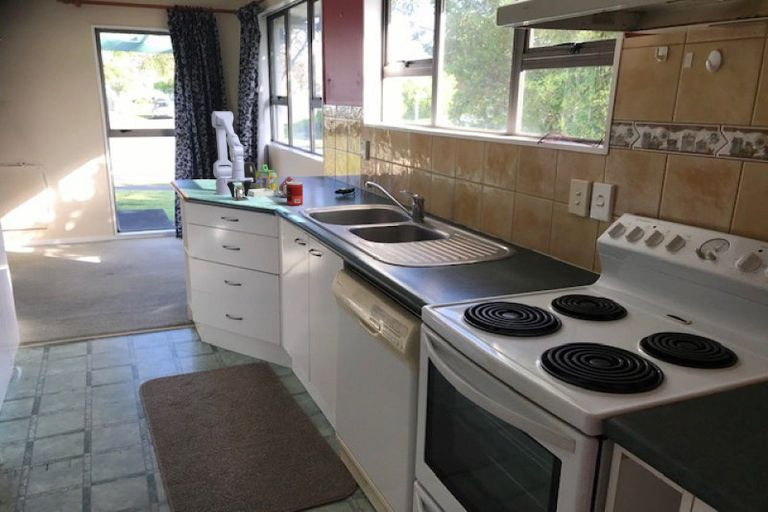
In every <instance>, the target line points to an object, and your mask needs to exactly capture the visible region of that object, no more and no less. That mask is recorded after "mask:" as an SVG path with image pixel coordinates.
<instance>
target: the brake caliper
mask: <svg viewBox="0 0 768 512" xmlns="http://www.w3.org/2000/svg"><path fill="white" fill-rule="evenodd" d="M287 182H296V181H295V180H294V179H293V178H292V177H291V176H290V175H289V176H287V178H285V179H284V181H282V183H280V184H279V185H278V190H279V191H278V192H277V194H278V196H279V197H278V198H279V199H287V191H286V183H287Z"/></svg>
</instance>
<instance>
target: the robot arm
mask: <svg viewBox="0 0 768 512" xmlns="http://www.w3.org/2000/svg"><path fill="white" fill-rule="evenodd" d="M233 122H234V113H233V112H232V111H229V110H228V111H225V110H224V111H221V110H220V111H216V110H214V111H212V113H211V126H212V127H213V128H215V134H216V145H217V147H216V148H217V160H216V161H215V162H214V163H213V165H212V167H213V168H212V169H213V170H212V171H213V172H212V173H213V176H214V177H215V179H216V180H215V188H216V189H215V191H216V192H214V195H218V196H227V195H231V198H235V197H236V195H235V184H238V183H241V182H243V184H244V187H243V193H244V197H246V198H248V196H249V195H248V190H249V188H250V185H251V182H253V178H244V164H245V163H244V162H245V161H244V157H245V156H246V150H245V149H246V148H245V146H244V144H242V143H241V142H240V139H239V136H238V135H237V134H236V133H235V131H234V127H233ZM228 147H229V157H230V160H229V159H228V158H229V157H228Z"/></svg>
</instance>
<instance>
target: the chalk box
mask: <svg viewBox="0 0 768 512" xmlns="http://www.w3.org/2000/svg"><path fill="white" fill-rule="evenodd" d="M255 176H256V187H255V189H263V188H267V189H270V190H273V191H274V192H277V191H278V190H279V184H278V170H276V169H275V170H273V169H269V168H268V165H267V164H263V165H262V169H259V170H256V171H255ZM276 190H277V191H276Z"/></svg>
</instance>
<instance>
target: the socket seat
mask: <svg viewBox="0 0 768 512" xmlns="http://www.w3.org/2000/svg"><path fill="white" fill-rule="evenodd" d="M229 200H231V201H232V202H242V201H245V202H246V201H250V199H249V198H248V197H246V196H244V199H238V200H236V196H235V198H233V197H231V198H229Z"/></svg>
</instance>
